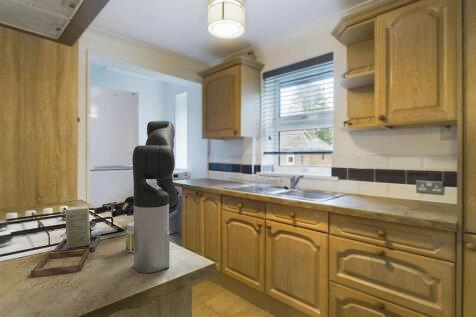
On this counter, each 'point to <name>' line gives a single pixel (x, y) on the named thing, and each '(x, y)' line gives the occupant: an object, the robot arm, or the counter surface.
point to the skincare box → (77, 226)
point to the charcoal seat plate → (92, 245)
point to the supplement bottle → (130, 237)
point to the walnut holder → (42, 271)
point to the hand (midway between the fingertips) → (103, 212)
